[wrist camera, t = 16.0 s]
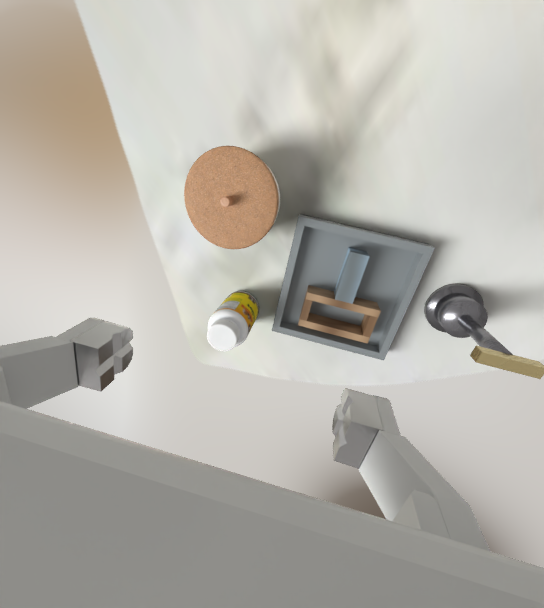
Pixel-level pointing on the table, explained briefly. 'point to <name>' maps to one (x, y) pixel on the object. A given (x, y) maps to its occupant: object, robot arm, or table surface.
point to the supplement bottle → (232, 321)
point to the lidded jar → (231, 197)
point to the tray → (374, 285)
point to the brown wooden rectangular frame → (343, 301)
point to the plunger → (474, 328)
